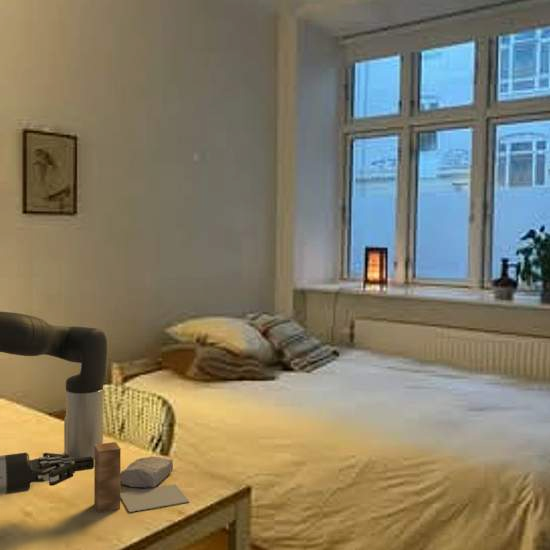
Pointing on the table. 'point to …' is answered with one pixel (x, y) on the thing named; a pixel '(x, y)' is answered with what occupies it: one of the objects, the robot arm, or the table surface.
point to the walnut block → (107, 477)
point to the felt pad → (153, 498)
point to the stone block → (146, 472)
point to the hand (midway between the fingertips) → (93, 462)
